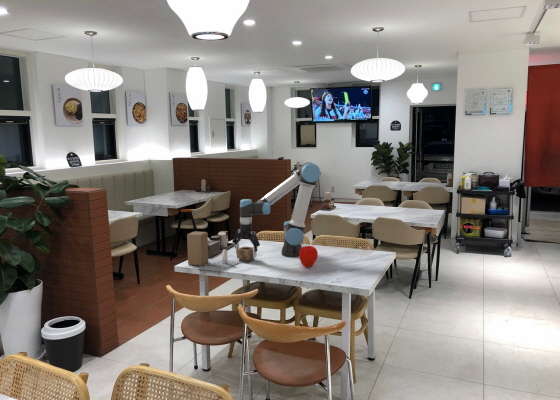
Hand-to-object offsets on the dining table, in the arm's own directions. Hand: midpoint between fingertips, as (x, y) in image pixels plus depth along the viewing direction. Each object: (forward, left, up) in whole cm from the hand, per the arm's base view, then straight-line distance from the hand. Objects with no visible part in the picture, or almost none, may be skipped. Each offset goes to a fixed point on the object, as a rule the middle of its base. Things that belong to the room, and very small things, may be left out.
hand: (246, 255), depth 292 cm
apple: (-42, -6, -4) cm, 43 cm away
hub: (+7, +14, -4) cm, 16 cm away
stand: (0, 0, -4) cm, 4 cm away
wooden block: (+23, +21, -4) cm, 31 cm away
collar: (0, 0, -2) cm, 2 cm away
